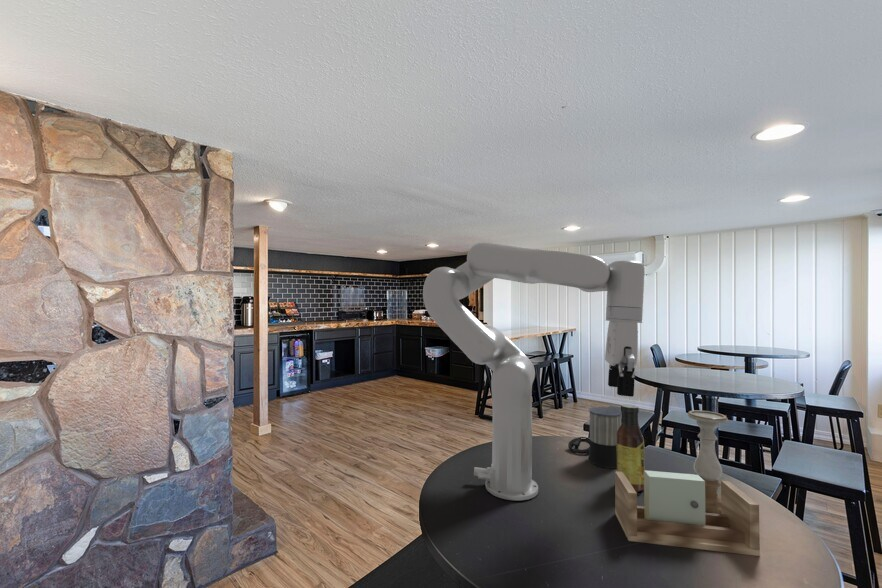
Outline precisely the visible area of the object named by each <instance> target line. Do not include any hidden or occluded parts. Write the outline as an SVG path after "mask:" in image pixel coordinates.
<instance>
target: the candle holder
mask: <svg viewBox="0 0 882 588" xmlns="http://www.w3.org/2000/svg"><path fill="white" fill-rule="evenodd" d="M687 416H688V418H690V419H692V420H695V421H696V425H698V427H699V429H700V431H699V433H698V434H697V438H699V440H700V442H699V444H700V446H699V452H698V455H697V457H696V458H695V460H694V462H693V470H694V472H695V473H696V475H699V476H700V477H701V478H702V479H703V480H704V481H705V512H706V513H715V514H721V493H720V492H718V490H719V488H721V481H719V479H720V478H721V477H722V476H723V467H722V465H721V463H720V461H719V459H718V456H717V454H716V442H717V441H718V439H719V438H718V437H717V435H716V433H715V431H716V430H717V428H719V426H720V425H719V424H726V423H728V421H729V418H728V417H727V415H724V414H722V413H719V412H715V411H710V410H701V409H700V410H695V409H694V410H689V411H688V413H687Z"/></svg>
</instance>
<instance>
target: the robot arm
mask: <svg viewBox="0 0 882 588" xmlns="http://www.w3.org/2000/svg"><path fill="white" fill-rule="evenodd" d="M493 279H500V280H507V281H509V282H510V281H512V282H518V283H522V284H530V285H533V284H549V285H550V284H551V285H557V286H559V285H560V286H563V287H564V286H566V287H572V288H576V289H578V290H580V291H582V292H586V293H595V292H596V293H597V292H606V308H605V310H606V311H605V321H607V322H608V327H607V331H606V332H607V334H606V345H605V354H604V360H605V362H607V363H608V364H609V367H608V379H607V385H608V387H611V388H617V389H616V394H617V396H621V397H622V396H623V397H634V395H635V377H636V376H635V367H636V366H637V361H638V350H639V349H638V345H639V340H638V339H639V338H638V337H639V336H638V335H639V334H638V333H639V330H638V329H639V328H638V327H639V326H638V324H643V313H644V311H643V310H644V309H643V308H644V294H645V293H644V292H645V291H644V290H645V288H644V287H645V265H644V264H643V263H642V262H641V261H637V260H616V261H612V262H611V263H607V262H605V261H604V260H603V258H600V257H598V256H595V255H589V254H584V253H583V254H582V253H575V252H569V251H567V252H566V251H558V250H546V249H538V248H536V249H535V248H528V247H518V246H512V245H507V244H506V245H505V244H497V243H493V242H491V243H490V242H479V243H478V242H477V243H475V244H474V245H473V246H471V248H469V250H468V251H467V255H466V261H465V262H464V263H462V264H461V265H459V266H457V267H456V268H451V267H448V266H440V267H436V268H434V269H433V270H431V271H430V272H429V273H428V274H427V276H426V278H425V279H424V283H423V289H422V300H423V304H424V307H425V309H426V311H427V313H428V315H429V316H430V317H431V319H432V320H433V321H434V323H436V325H437V326H439V328H440V329H441V330H442V331H443V332H444V334H446V335H447V336H448V338H449V339H450V340H451V341H452V342H453V343H454V344H455V345H456V346H457V347H458V348H459V349H460V350H461V351H462V353H463V354H464V355H466V357H467V358H468V359H469V360H470V361H471V362H472V363H474V364H477V365H486V366H487V367H488V368H489V369H490V370H491V371H492V373H491V380H490V388H491V389H490V390H491V401H492V407H491V408H492V437H491V438H492V441H491V442H492V443H491V444H492V445H491V448H492V451H491V454H492V455H491V464H490V465H491V466H487V467H486V468H485V467H484V468H483V467H477V466H474V467H473V469H474V470H473V476H477V479H478V480H485V489H486V491H487V492H489V493H490V494H491V495H492V496H495V497H497V498H499V499H503V500H507V501H514V502H515V501H517V502H518V501H519V502H520V501H526V500H530V499H533V498H535V497H536V496H537V495H538V493H539V485H538V483H537V482H536V481H535V480H534V479H532V478H533V477H532V476H533V472H532V471H533V470H532V469H533V467H532V466H533V396H532V395H533V393H532V391H533V384H534V380H535V378H536V369H535V367H534V363H532V361H531V360H530V358H529V357H528V356H527V355H526V354H525V353H524V352H523V351H521V349H519V348H518V346H517V345H515V343H514V342H513V341H512V340H510V339H509V337H507V336H506V335H505V334H504V333H503V332H502V331H501V330H499V329H498V328H496V327H494V326H490V325H485V324H484V323H483V322H482V321H480V320H479V319H478V318H477V317H476V316H475V315H474V314H473V313H472V312H471V310H469V309H468V308H467V307H466V306H465V305H463V304H462V303H461V302H460V300H462V299H464V298H466V297H468V296H469V295H471V294H473V293H474V292H475V291H477V290H478V289H479V290H480V288H482V287H483V286H485V285H486V284H488V283H489V282H491V281H492V280H493Z"/></svg>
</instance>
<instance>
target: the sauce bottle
mask: <svg viewBox="0 0 882 588" xmlns="http://www.w3.org/2000/svg"><path fill="white" fill-rule="evenodd" d="M639 409H640V408H639V406H637V405H635V404H628V403H627V404H626V403H625V404H621V405H620V411H621V412H622V415H621V418H622V420H621V422H622V424H621V426H620V427H619V429H618V431H617V468H616V471H617V472H623V473H624V475H625V476H626V478H627V479H628V481H629V482H630V484H631V485H632V487H633V488H634V490H635V491H636V493H638V492H642V491H644V470H646V468H645V466H646V465H645V463H646V462H645V459H646V458H645V438H644V436H643V433H642V431H641V428H640V427H641V426H640V425H639V413H640V412H639V411H640V410H639Z"/></svg>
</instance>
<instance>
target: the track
mask: <svg viewBox="0 0 882 588" xmlns="http://www.w3.org/2000/svg"><path fill="white" fill-rule="evenodd" d="M614 477H615V478H614V480H615V481H614V483H615V485H614V489H615V490H614V492H615V493H614V494H615V497H614V498H615V499H614V501H615V503H614V506H615V507H614V512H615V513H614V514H615V516H616V518H617V520H618V522H619V524H620V526H621V528H622V530H623V532H624V534H625V537H626V538H627V541H628V542H635V543H644V544H645V543H646V544H653V545H661V546H669V547H679V548H680V547H681V548H688V549H694V550H695V549H696V550H705V551H713V552H720V553H721V552H723V553H730V554H738V555H739V554H740V555H747V556H748V555H749V556H756V557H760V556H761V554H760V553H761V552H760V551H761V548H760V547H761V546H760V545H761V543H760V540H761V539H760V537H761V536H760V504H758V503H757V502H756V501H754V499H752V498H751V497H749V496H748V495H747V494H746V493H745V492H744V491H742V490H741V489H740V488H738V487H737V486H736V485H735V484H733V483H732V482H731V481H729V480H720V483H721V486H720V494H721V514H717V513H711V512H705V526H704V525H695V524H685V523H676V522H667V521H657V520H648V519H644V506H643V505H638V492H637V491H635V490H634V488H633V487H632V485H631V484H630V482H629V481H628V479H627V478H626V476H625V475H624V473H623V472H617V470H616V471H615V472H614Z"/></svg>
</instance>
